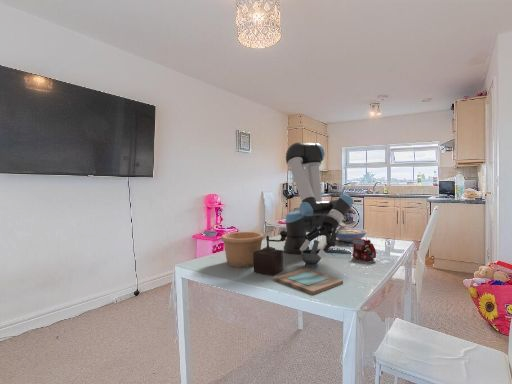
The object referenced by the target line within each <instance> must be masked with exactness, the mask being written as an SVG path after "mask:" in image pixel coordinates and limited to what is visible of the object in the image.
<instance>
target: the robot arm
mask: <svg viewBox="0 0 512 384" xmlns="http://www.w3.org/2000/svg"><path fill="white" fill-rule="evenodd" d="M324 149H325V148H324V146H322V145H321V144H320V143H318V142H294V143H293V144H291V145H290V146H289V147H288V148H287V150H286V152H285V163H286V165H287V167H289V168H290V172H291V175H292V177H293V178H292V179H293V180H294V181H293V182H294V183H295V186H296V190H297V192H298V194H299V197H300V200H301V203H300V204H299V210H294V211H293V210H292V211H290V212H287V214H286V215H285V231H286V232H287V233H288V235H287V237H286V241H285V242H284V246H283V253H287V254H293V255H301V251H303V250H310V244H311V241H312V242H313V241H314V240H316V239H317V238H319V237H322V236H325V243H324V244H323V246H322V247H321V248H320V250H318V251H319V253H318V254H317V255H318V256H319V257H320V258H321V259H323V257H324V256H325V254H326V253H327V252H328V251H329V249H330V248H332V247H333V248H335V246H336V241H337V233H338V232H339V231H338V230H337V228H339V226H340V224H341V223H342V221H343V220H344V219H345V216H346V215H347V214H348V212H349V211H350V209H351V208H352V207H353V204H354V199H353V198H352V197H351V195H348V194H347V193H346V194H345V193H342V194H341V195H340V196H339V197H338V198H337V199H334V200H323V198H322V196H323V195H322V187H321V186H322V185H321V173H320V167H321V165H322V162H323V161H324V159H325V155H326V154H325V150H324Z"/></svg>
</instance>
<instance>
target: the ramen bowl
mask: <svg viewBox="0 0 512 384" xmlns="http://www.w3.org/2000/svg"><path fill="white" fill-rule="evenodd" d="M337 230H338V231H339V232H338V233H337V237H336V239H339V240H340V241H343V242H345V243H353V239H354V238H358V239H363V238H364V236H365V235H366V234H367V231H368V230H366V229H363V228H358V227H347V225H341V226H340V227H337Z"/></svg>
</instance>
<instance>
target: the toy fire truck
mask: <svg viewBox="0 0 512 384" xmlns="http://www.w3.org/2000/svg"><path fill="white" fill-rule="evenodd" d="M352 245H353V248H352V250H353V251H352V257H353V258H354V260H359V259H360V258H361V259H362V261H365V262H368V261H369V260H373V259H375V258H376V257H377V250H376V248H375V246H374V244H373V243H372V242H371V240H370V239H363V238H362V239H358V238H354V239H353V242H352Z"/></svg>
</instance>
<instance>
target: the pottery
mask: <svg viewBox="0 0 512 384" xmlns="http://www.w3.org/2000/svg"><path fill="white" fill-rule="evenodd" d="M264 239H265V235H264V234H263V233H261V232H256V231H234V232H227V233H224V234H222V235H221V236H220V240H221V241H222V242H223V246H224V251H225V252H224V253H225V258H226V264H227V265H228V266H229V267H232V266H233V268H239V267H241V268H252V267H254V262H253V252H256V251H259V250H262V242H263V240H264ZM251 266H252V267H251Z"/></svg>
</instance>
